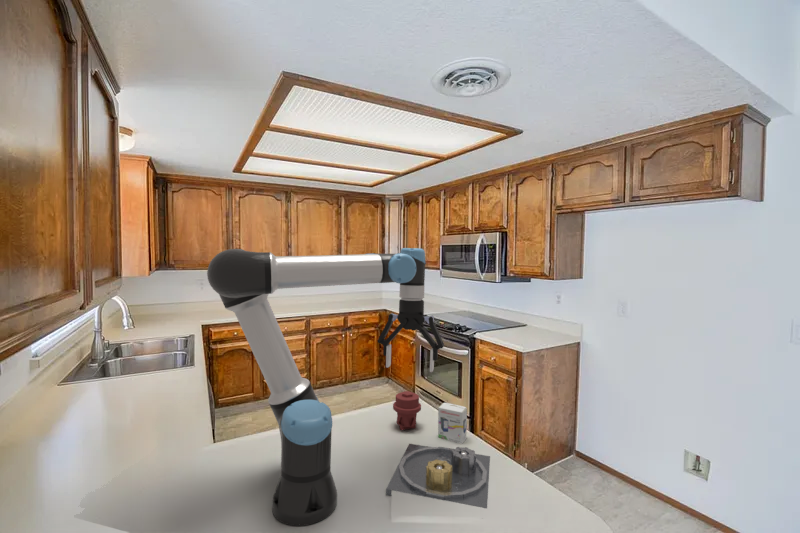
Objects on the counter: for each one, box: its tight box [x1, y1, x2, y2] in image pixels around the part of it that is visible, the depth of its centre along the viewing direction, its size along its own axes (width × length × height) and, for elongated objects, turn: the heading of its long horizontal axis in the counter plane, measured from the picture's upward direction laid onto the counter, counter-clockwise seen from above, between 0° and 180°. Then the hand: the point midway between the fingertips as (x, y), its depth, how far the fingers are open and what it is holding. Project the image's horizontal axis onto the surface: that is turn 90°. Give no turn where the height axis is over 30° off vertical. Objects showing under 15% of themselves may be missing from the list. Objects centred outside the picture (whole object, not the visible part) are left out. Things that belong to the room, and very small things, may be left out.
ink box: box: [437, 402, 468, 445], centre depth 125 cm, size 9×5×12 cm, turn 62°
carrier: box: [385, 443, 491, 509], centre depth 105 cm, size 25×25×6 cm
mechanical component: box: [392, 390, 422, 431], centre depth 136 cm, size 12×10×10 cm
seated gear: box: [451, 446, 476, 475], centre depth 107 cm, size 7×7×4 cm
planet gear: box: [426, 460, 452, 491], centre depth 99 cm, size 7×7×4 cm
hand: (409, 368), depth 116 cm, fingers open, 13 cm apart
